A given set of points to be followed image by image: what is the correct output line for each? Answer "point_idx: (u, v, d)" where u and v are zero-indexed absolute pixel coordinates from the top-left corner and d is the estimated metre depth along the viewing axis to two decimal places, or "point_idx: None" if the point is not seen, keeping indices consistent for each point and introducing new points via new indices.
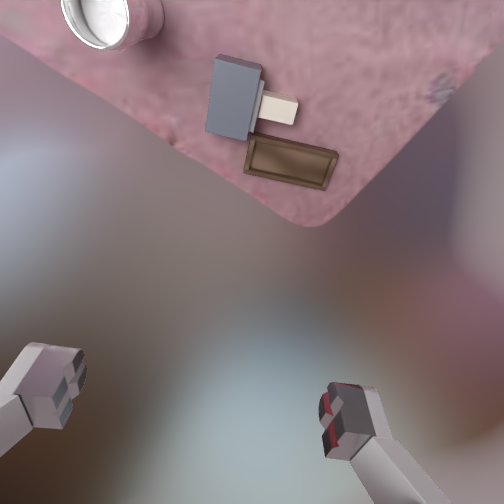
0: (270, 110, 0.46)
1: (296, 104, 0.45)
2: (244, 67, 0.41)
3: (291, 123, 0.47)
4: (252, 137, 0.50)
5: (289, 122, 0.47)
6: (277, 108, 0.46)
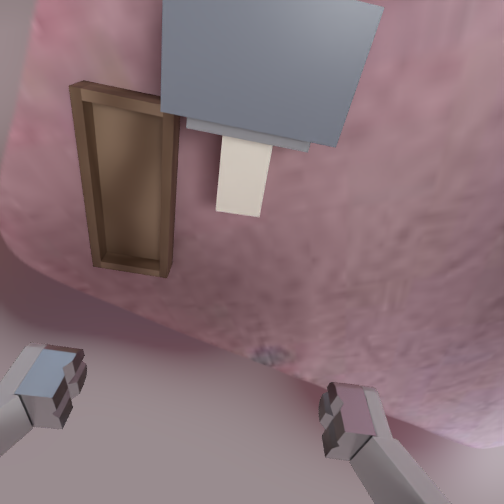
0: (241, 163, 0.20)
1: (257, 213, 0.22)
2: (348, 104, 0.16)
3: (218, 208, 0.22)
4: None
5: (220, 204, 0.21)
6: (246, 176, 0.20)
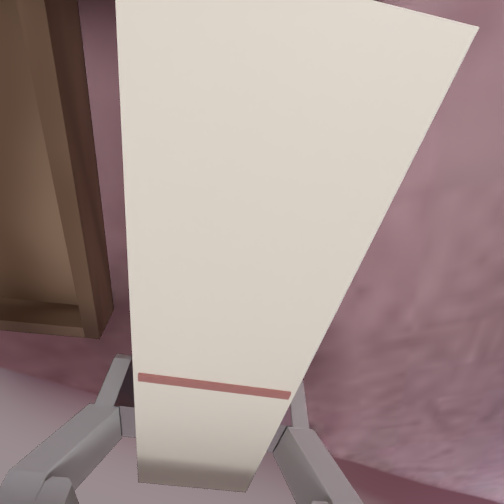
0: (196, 425, 0.07)
1: (240, 488, 0.09)
2: None
3: (145, 481, 0.09)
4: None
5: (148, 476, 0.09)
6: (213, 443, 0.07)
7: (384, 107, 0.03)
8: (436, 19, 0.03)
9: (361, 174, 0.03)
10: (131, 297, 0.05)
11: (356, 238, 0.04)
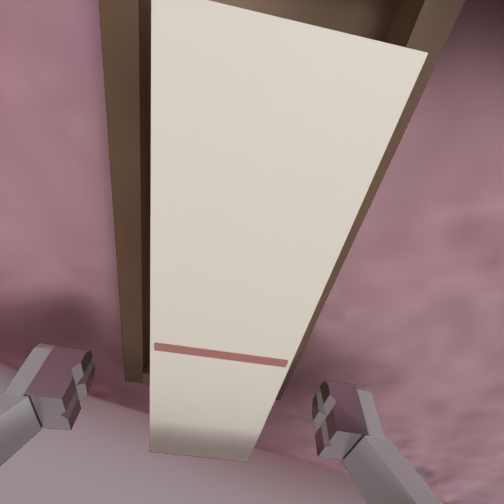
0: (203, 393, 0.08)
1: (243, 457, 0.10)
2: None
3: (156, 450, 0.10)
4: None
5: (158, 445, 0.09)
6: (219, 412, 0.08)
7: (359, 113, 0.04)
8: (395, 46, 0.04)
9: (343, 166, 0.04)
10: (152, 272, 0.05)
11: (339, 219, 0.05)
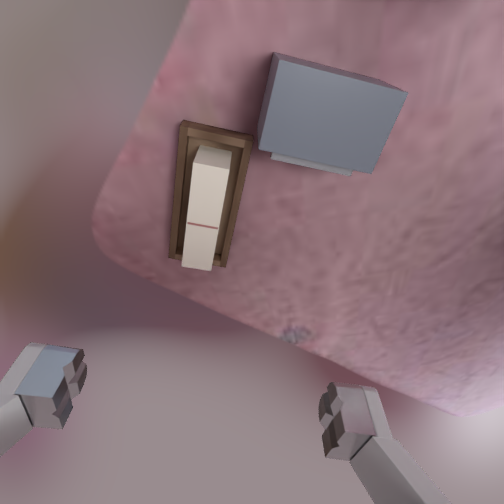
0: (198, 239, 0.30)
1: (209, 269, 0.33)
2: (381, 147, 0.24)
3: (183, 265, 0.32)
4: (248, 143, 0.28)
5: (184, 262, 0.32)
6: (202, 247, 0.31)
7: (222, 176, 0.27)
8: (225, 168, 0.26)
9: (221, 184, 0.27)
10: None
11: (222, 193, 0.28)
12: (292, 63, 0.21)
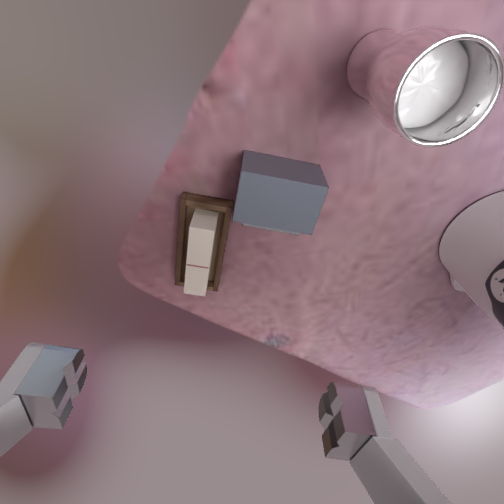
0: (195, 275, 0.42)
1: (204, 295, 0.45)
2: (316, 219, 0.36)
3: (185, 292, 0.44)
4: (229, 209, 0.40)
5: (185, 290, 0.44)
6: (198, 280, 0.43)
7: (209, 235, 0.39)
8: (211, 230, 0.38)
9: (209, 240, 0.39)
10: (187, 252, 0.40)
11: (210, 245, 0.39)
12: (250, 172, 0.33)
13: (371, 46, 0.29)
